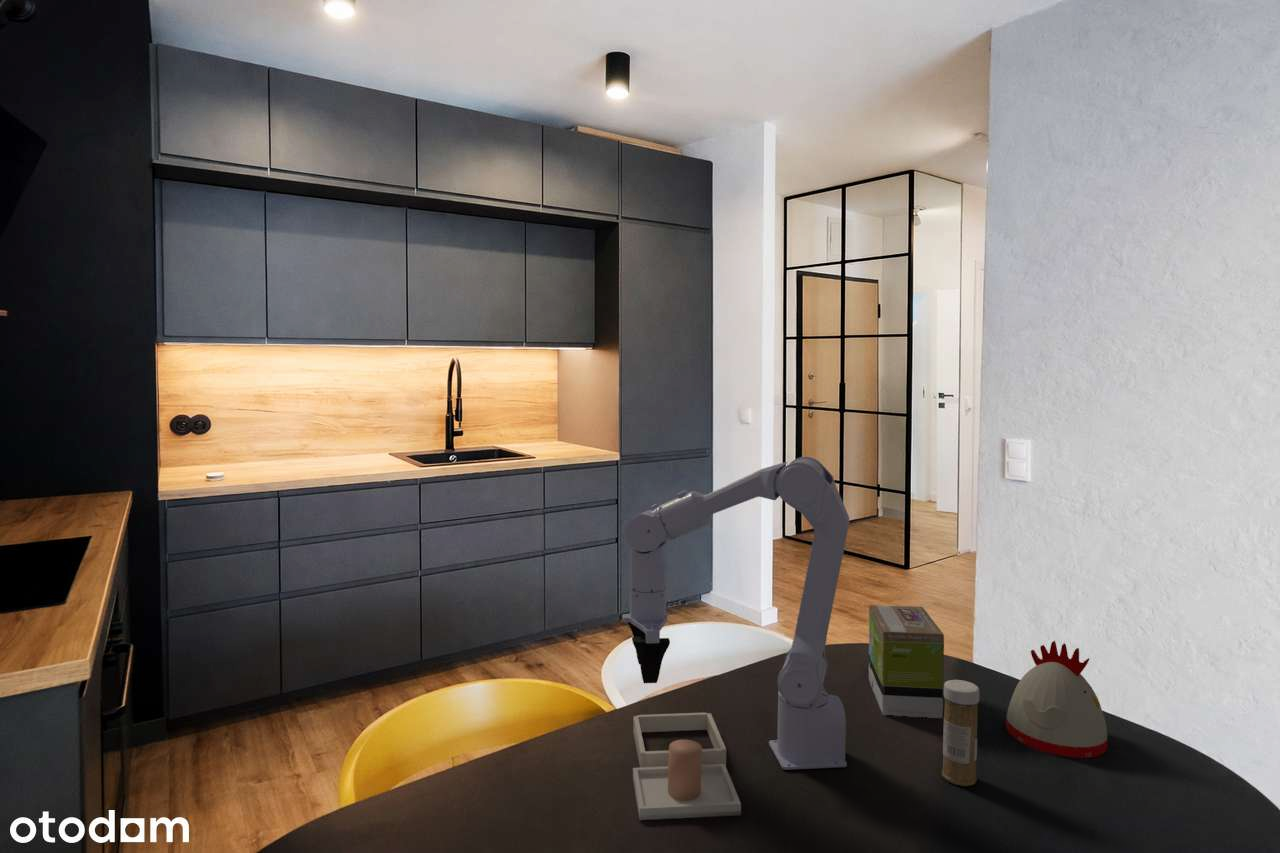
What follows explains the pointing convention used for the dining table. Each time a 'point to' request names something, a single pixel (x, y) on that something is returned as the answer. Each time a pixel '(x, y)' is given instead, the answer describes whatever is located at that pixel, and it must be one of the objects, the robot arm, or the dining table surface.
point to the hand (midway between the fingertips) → (647, 672)
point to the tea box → (906, 661)
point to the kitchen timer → (1057, 707)
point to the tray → (661, 805)
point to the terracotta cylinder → (684, 769)
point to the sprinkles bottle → (960, 732)
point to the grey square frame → (677, 724)
